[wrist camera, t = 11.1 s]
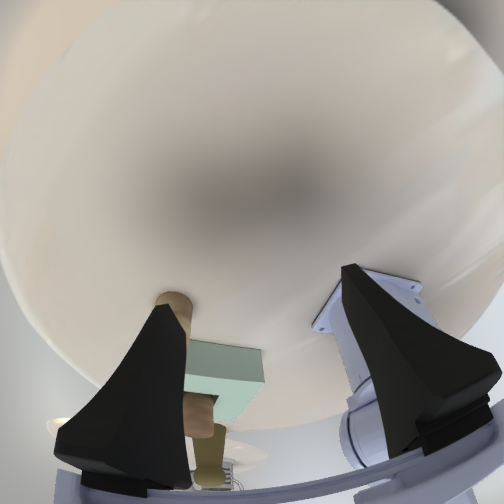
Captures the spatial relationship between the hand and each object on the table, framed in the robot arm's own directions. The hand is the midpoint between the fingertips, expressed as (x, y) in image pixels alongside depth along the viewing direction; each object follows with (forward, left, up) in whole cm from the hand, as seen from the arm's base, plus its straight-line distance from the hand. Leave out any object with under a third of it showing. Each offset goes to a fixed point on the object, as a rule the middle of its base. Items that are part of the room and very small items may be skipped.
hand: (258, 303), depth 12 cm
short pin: (+3, +11, -9) cm, 15 cm away
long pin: (-1, +21, -9) cm, 23 cm away
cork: (-6, +41, -10) cm, 43 cm away
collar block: (-1, +21, -9) cm, 23 cm away
